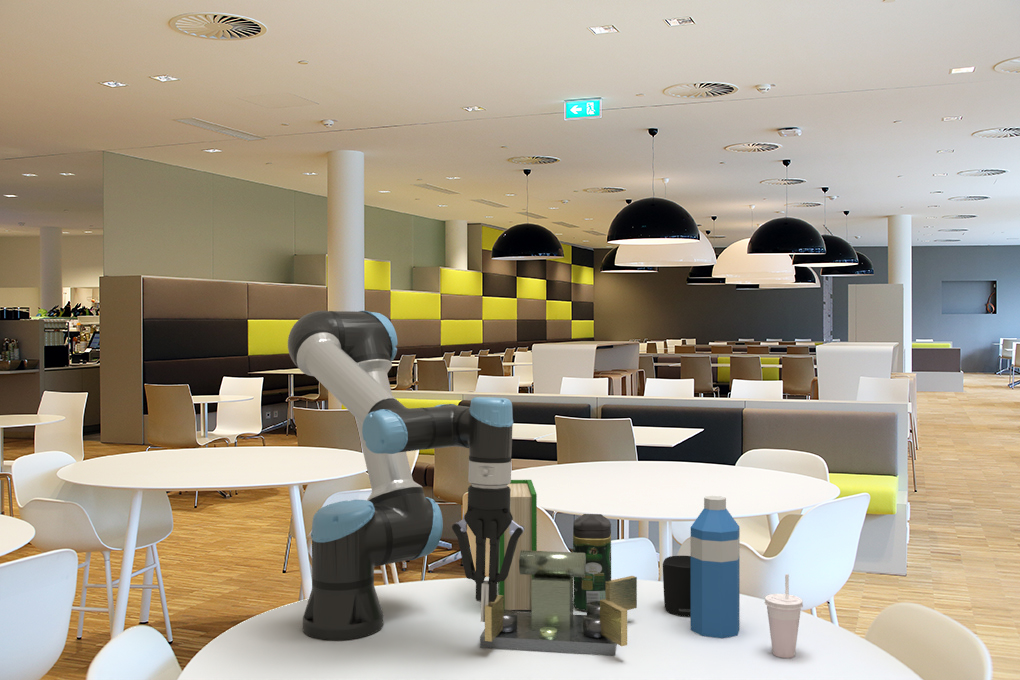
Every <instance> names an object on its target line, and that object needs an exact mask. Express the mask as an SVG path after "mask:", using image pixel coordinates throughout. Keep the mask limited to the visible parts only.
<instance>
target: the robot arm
mask: <svg viewBox="0 0 1020 680" xmlns="http://www.w3.org/2000/svg"><path fill="white" fill-rule="evenodd" d="M287 337H288V338H287V349H288V354H289V357H290V359H291V360H292V362H293V363H294V366H296V367H297V368H298V370H300V371H301V372H302V373H303V374H304V375H307V376H310V377H314V378H316V380H317V381H318V382H319V383H321V385H322V386H323V387H324V388H325V389H326V390H327V391H328V392H329V393H330V394H332V395H333V397H334V398H335V399H336V400H337V401H338V402H339V403H340V404H341V405H342V406H343V407H344V408H346V410H347V411H348V412H350V413H351V415H353V417H354V418H355V423H356V427H357V431H358V434H359V439H360V444H361V449H362V453H363V457H364V462H365V466H366V471H367V474H368V479H369V484H370V488H371V493H370V495H369V496H368V498H367V499H350V500H342V501H341V500H340V501H337V502H334V503H333V502H332V503H330V504H327V505H325V506H322V507H321V508H319V509H318V510H317V511H316V512H315V513H314V515H313V517H312V521H311V522H312V523H311V533H310V539H311V579H312V580H311V581H312V582H311V591H310V594H309V597H308V601H307V604H306V607H305V610H304V613H303V616H302V632H303V633H304V634H305V635H307V636H309V637H311V638H314V639H319V640H328V641H337V640H338V641H342V640H343V641H344V640H352V639H358V638H363V637H364V638H365V637H366V636H369V635H372V634H375V633H377V632H379V631H380V630H382V628H383V626H384V612H383V609H382V606H381V603H380V600H379V597H378V594H377V591H376V588H375V567H381V566H386V565H390V564H395V563H399V562H404V561H414V560H415V561H416V560H417V559H420V558H422V557H425V556H428V555H430V554H432V553H434V551H436V550H437V548H438V546H439V545H440V540H441V538H442V535H443V529H444V527H443V526H444V525H443V524H444V523H443V522H444V520H443V513H442V510H441V508H440V506H439V504H438V503H436V501H435V499H433V498H431V497H428V496H425V492H424V488H423V486H422V485H421V484H419V483H417V482H416V481H414V479H413V474H412V471H411V467H410V466H411V465H410V462H409V458H408V454H407V452H413V451H414V452H415V451H421V450H422V451H423V450H434V449H435V450H436V449H444V448H452V447H453V448H456V447H458V448H464V449H468V450H469V455H468V477H467V478H468V479H467V480H468V483H469V484H470V485H469V486H468V488H467V508H466V512H465V514H464V517H463V518H462V519H461V520H459V521H456V522H455V523H454V524H452V526H451V529H452V531H453V533H454V534H455V536H456V537H457V542H458V546H459V551H460V555H461V560H462V565H463V570H464V575H465V578H466V579H469V580H473V581H474V582H475V600H476V601H477V602H480V622H481V623H485V606H486V605H488V604H489V602H494V601H495V600H496V598H497V595H498V582H500V581H504V580H505V579H506V578H507V576H508V573H509V570H510V566H511V563H512V559H513V556H514V552H515V549H516V545H517V542H518V538H519V537H520V536H521V534H522V533H523V532H524V529H525V528H524V527H523V526H519V525H518V524H517V523H515V522H514V521H513V517H512V515H511V512H510V493H511V489H510V487H509V486H507V485H508V484H510V483H511V480H512V452H513V451H512V449H513V448H512V447H513V426H514V425H513V424H514V419H513V417H514V416H513V403H512V401H511V400H510V399H509V398H506V397H495V396H494V397H493V396H477V397H473V398H472V399H471V400H470V405H469V406H465V405H464V406H463V405H456V404H455V403H447V404H444V403H443V404H437V405H435V406H431V407H430V406H429V407H414V408H413V407H412V408H410V407H406V406H405V405H404V404H403V403H401V401H399V400H398V399H396V397H394V395H393V393H392V389H391V384H390V381H389V377H388V373H389V371H390V370H391V368H392V367H393V360H394V359H395V358H396V355H397V352H398V348H397V346H398V337H397V331H396V329H395V327H394V325H393V323H392V322H391V321H390V319H389V318H388V317H387V316H385V314H384V315H383V314H382V313H379V312H376V311H375V312H374V311H373V312H372V311H368V310H359V311H355V310H354V311H350V310H349V311H346V310H345V311H342V310H341V311H340V310H335V311H333V310H316V311H312V312H309V313H307V314H304V315H303V316H302V317H300V318H299V319H297V321H296V322H295V323H294V324H293V326H292V328H291V329H290V332H289V334H288V336H287ZM508 527H510V531H509V534H510V535H511V537H510V540H509V543H508V546H507V550H506V553H505V557H504V560H503V564H502V567H501V571H500V573H498V565H499V542H500V537H501V536H502V534H503V533H504V532H505V531H506V529H507V528H508ZM468 528H469V529H470V530H471V533H472V534H473V535H474V536H475V565H474V559H473V555H472V550H471V546H470V542H469V537H468V536H469V535H468V533H467V531H468ZM487 539H488V540H489V543H488V544H489V557H488V559H489V560H488V561H489V562H488V580H486V577H487V575H486V553H487V550H486V549H487V547H486V546H487V545H486V544H487Z"/></svg>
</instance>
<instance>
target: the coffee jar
mask: <svg viewBox="0 0 1020 680" xmlns="http://www.w3.org/2000/svg"><path fill="white" fill-rule="evenodd" d="M572 527H573V529H572V530H573V531H572V532H573V533H572V552H577V553H585V554H586V573H585V577H573V606H574V608H576V609H577V610H581V611H586V604H587V603H589V602H593V601H600V600H603V599H606V581H610V580H612V523H611V521H610V520H609V519H608V518H607V517H606V516H604V515H603V514H600V513H583V514H582V515H581V516H578V517H576V518H575V520H574V521H573V526H572Z"/></svg>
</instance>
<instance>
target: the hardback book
mask: <svg viewBox="0 0 1020 680" xmlns="http://www.w3.org/2000/svg"><path fill="white" fill-rule="evenodd" d="M507 486H509V487H510V489H511V493H510V512H511V515H512V517H513V521H514V522H515V523H517V524H518V525H519V526H523V527H524V528H525V529H524V532H523V533H522V534H521V536H520V537H519V538H518V542H517V545H516V549H515V552H514V556H513V559H512V563H511V566H510V570H509V573H508V576H507V578H506V579H505V580H504V581H500V582H498V583H497V595H504V610H512V611H517V610H518V611H519V610H520V611H521V610H522V611H526V610H528V611H532V578H533V576H534V575H521V574H520V572H519V557H520V552H521V550H527V551H538V548H537V543H538V542H537V541H538V540H537V538H538V536H537V534H538V533H537V532H538V531H537V530H538V529H537V526H538V524H537V521H538V520H537V519H538V518H537V517H538V516H537V515H538V514H537V513H538V512H537V511H538V509H537V502H538V501H537V497H538V496H537V495H538V494H537V491H536V489H535V486H534V483H533V481H532V479H511V483H510V484H508V485H507ZM509 531H510V527H508V528H507V529H506V531H505V532H504V533H503V534H502V536H501V537H500V542H499V565H498V573H500V571H501V567H502V564H503V560H504V557H505V553H506V550H507V546H508V543H509V540H510V537H511V535H510V534H509Z"/></svg>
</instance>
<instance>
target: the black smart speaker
mask: <svg viewBox="0 0 1020 680" xmlns="http://www.w3.org/2000/svg"><path fill="white" fill-rule="evenodd" d="M662 580H663V581H662V583H663V585H662V586H663V587H662V588H663V600H664V601H663V602H664V605H663V606H664V610H665V611H666V612H667V613H669V614H671V615H674V616H678V617H679V616H680V617H686V618H687V617H688V618H691V555H672V556H667V557H665V558H664V560H663V561H662Z"/></svg>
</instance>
